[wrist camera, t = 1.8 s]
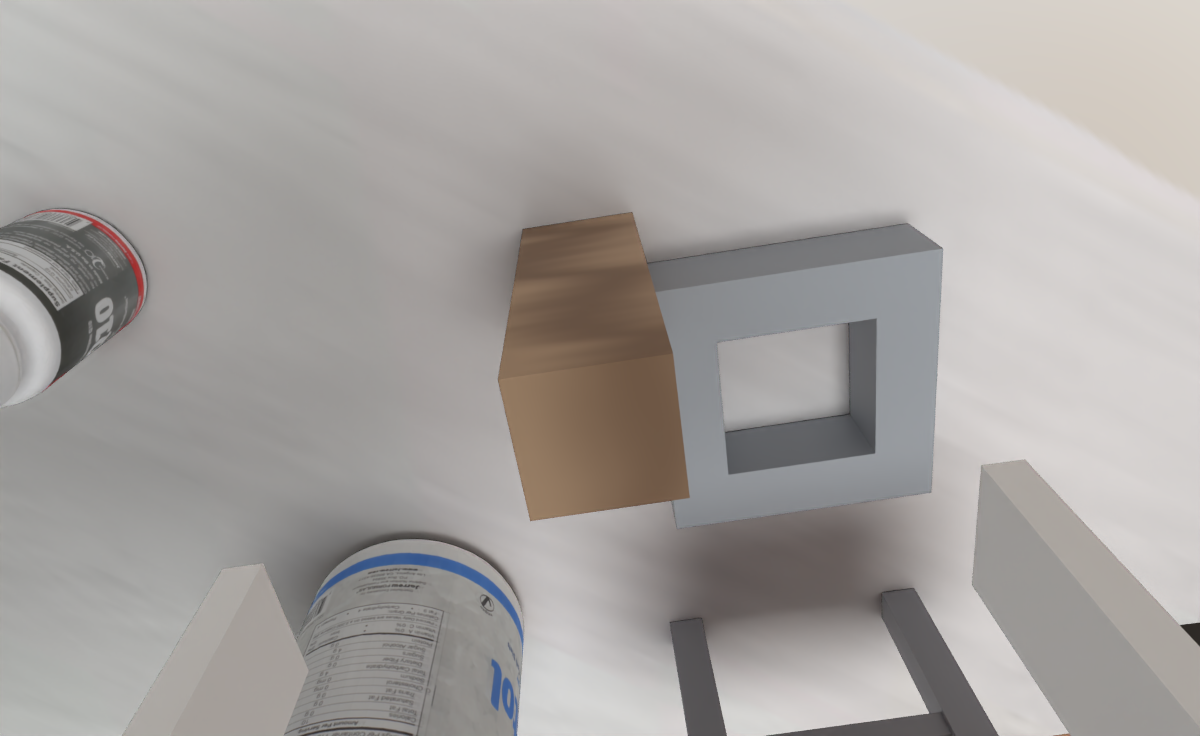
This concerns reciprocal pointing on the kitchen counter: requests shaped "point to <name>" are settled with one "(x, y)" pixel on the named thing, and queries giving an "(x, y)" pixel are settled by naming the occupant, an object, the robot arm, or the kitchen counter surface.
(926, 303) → the socket block
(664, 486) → the peg
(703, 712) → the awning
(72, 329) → the pill bottle
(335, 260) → the kitchen counter surface
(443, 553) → the supplement tub
